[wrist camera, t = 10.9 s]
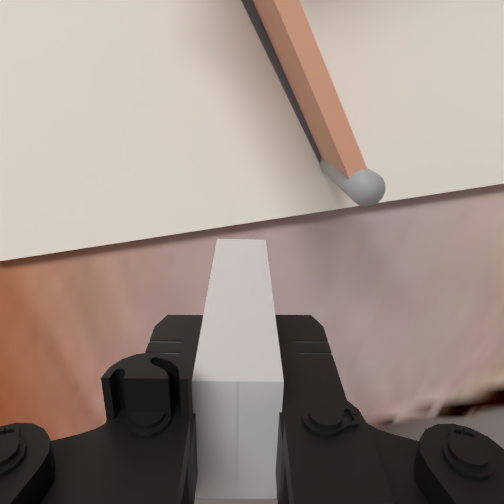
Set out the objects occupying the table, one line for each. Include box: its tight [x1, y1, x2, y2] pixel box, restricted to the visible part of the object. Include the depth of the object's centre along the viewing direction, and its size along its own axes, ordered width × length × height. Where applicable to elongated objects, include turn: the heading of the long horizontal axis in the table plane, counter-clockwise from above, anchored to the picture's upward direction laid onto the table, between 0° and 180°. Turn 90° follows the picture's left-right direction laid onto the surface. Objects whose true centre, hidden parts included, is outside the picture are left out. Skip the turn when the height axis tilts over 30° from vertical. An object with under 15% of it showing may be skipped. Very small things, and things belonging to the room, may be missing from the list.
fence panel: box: [253, 0, 386, 207], centre depth 17 cm, size 13×1×7 cm, turn 27°
